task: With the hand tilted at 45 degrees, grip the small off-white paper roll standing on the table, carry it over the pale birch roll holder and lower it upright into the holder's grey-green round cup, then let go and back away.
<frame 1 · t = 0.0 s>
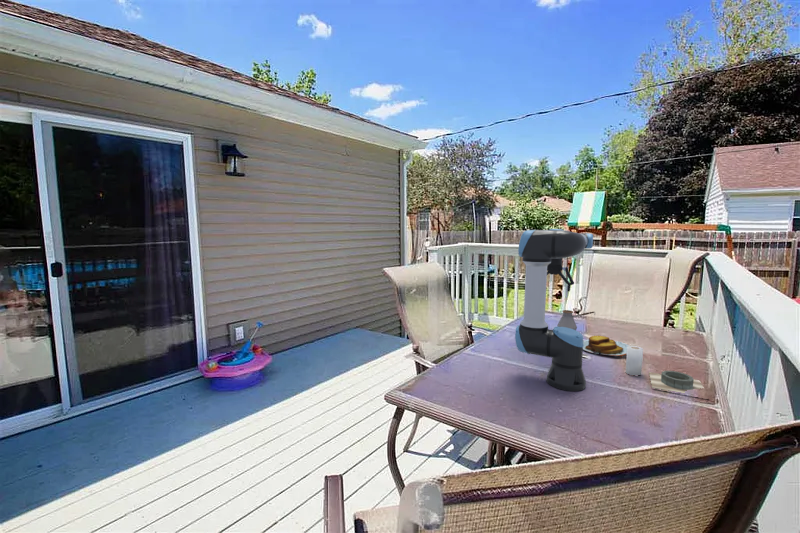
hand: (552, 296, 200), 28 cm above the table, tool pointing down, fingers open, 13 cm apart
paper roll: (633, 373, 164), on the table
food on plate: (604, 351, 195), on the table
coffee pot: (575, 332, 227), on the table
roll holder: (676, 386, 152), on the table
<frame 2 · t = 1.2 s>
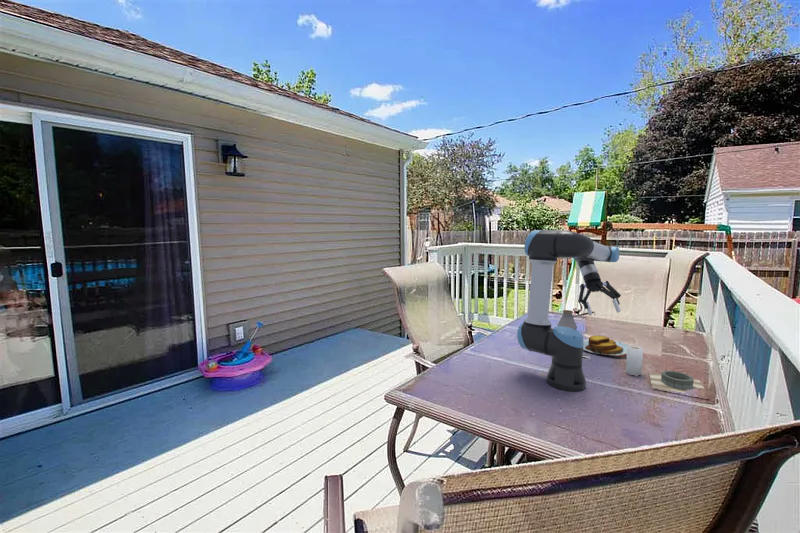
hand: (604, 313, 179), 24 cm above the table, tool tilted 35°, fingers open, 13 cm apart
nothing on the table moved.
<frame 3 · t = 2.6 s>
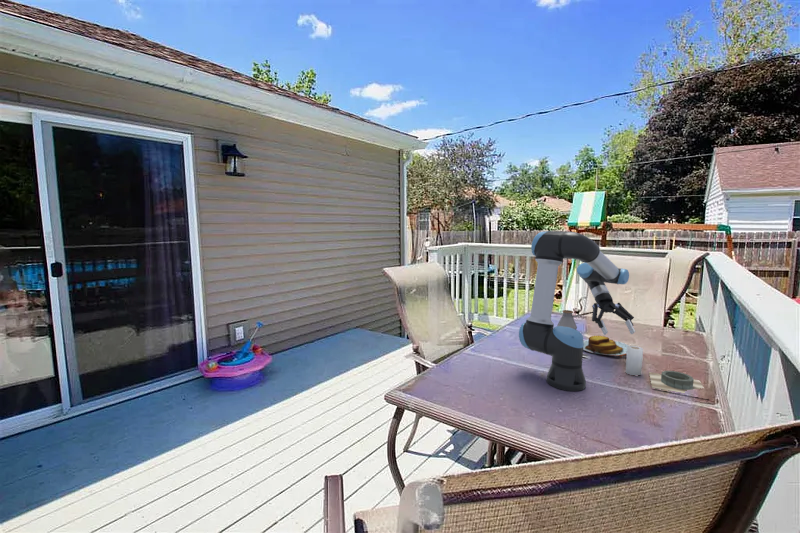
hand: (619, 333, 173), 16 cm above the table, tool tilted 45°, fingers open, 13 cm apart
nothing on the table moved.
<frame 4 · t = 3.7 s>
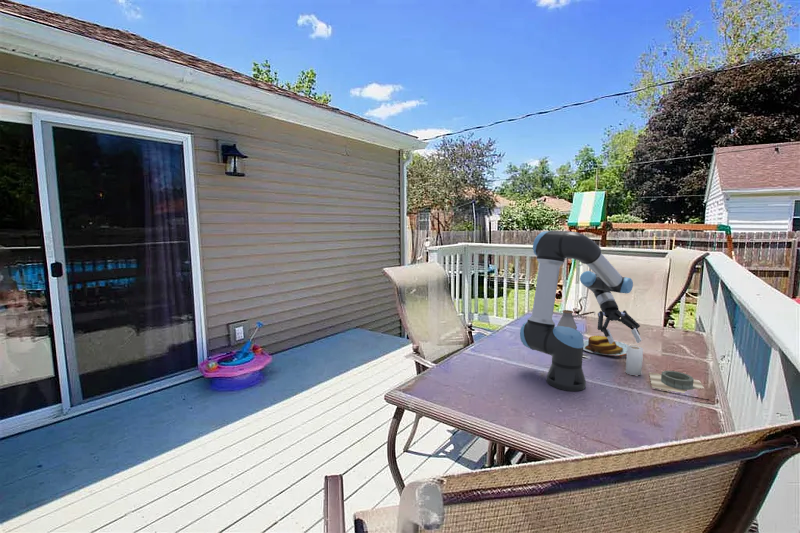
hand: (625, 342, 170), 12 cm above the table, tool tilted 45°, fingers open, 13 cm apart
nothing on the table moved.
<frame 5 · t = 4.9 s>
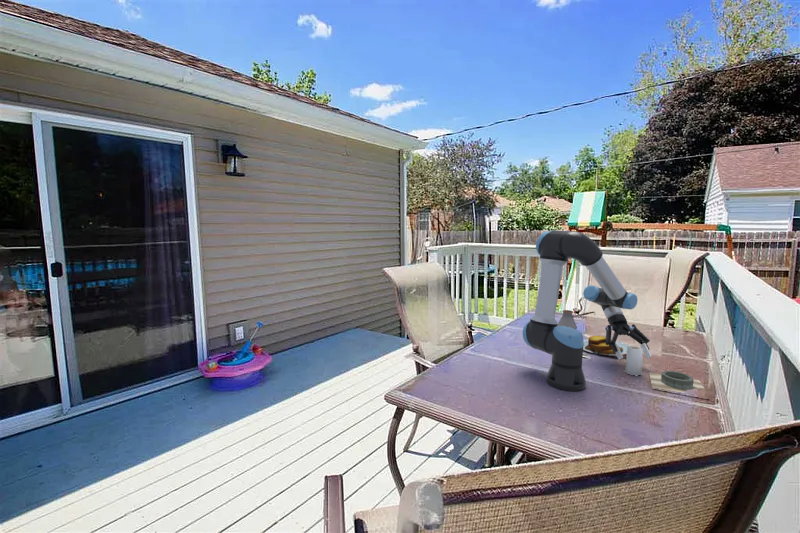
hand: (635, 358, 164), 7 cm above the table, tool tilted 45°, fingers open, 13 cm apart
nothing on the table moved.
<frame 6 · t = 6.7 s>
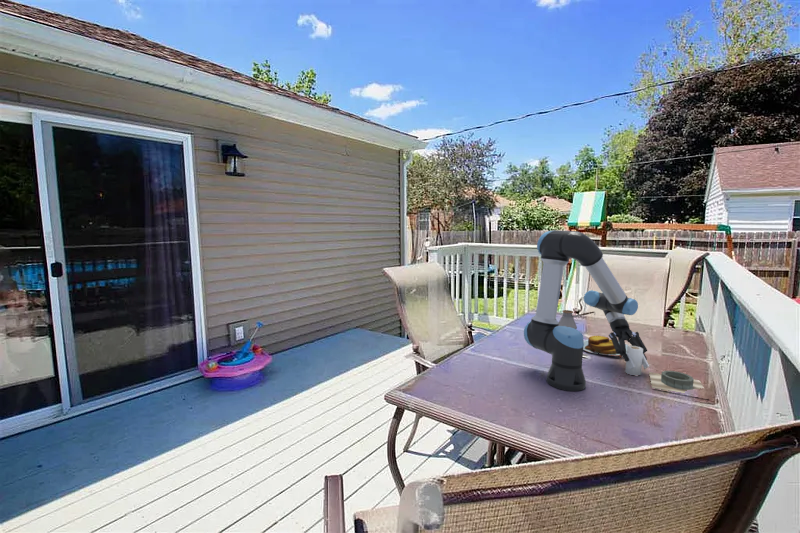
hand: (639, 367, 160), 4 cm above the table, tool tilted 45°, fingers closed on paper roll, 6 cm apart
paper roll: (633, 373, 164), on the table, touching gripper
everything else where it was.
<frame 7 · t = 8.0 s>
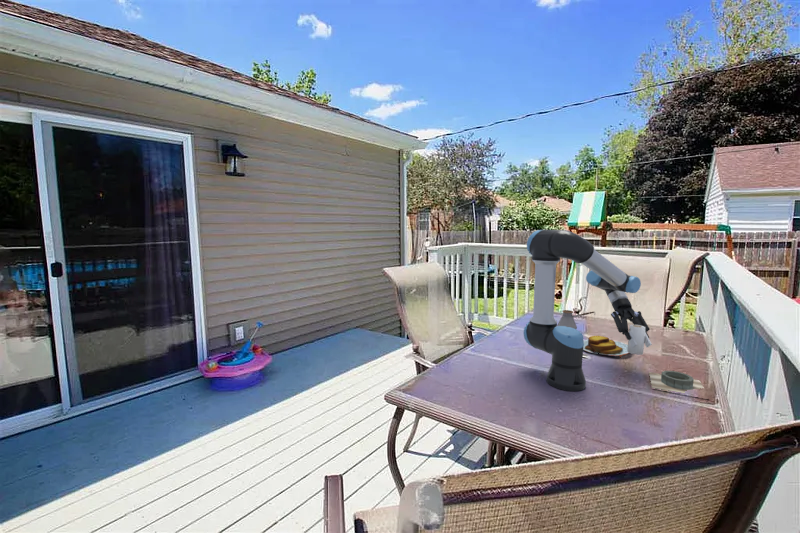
hand: (641, 345, 159), 14 cm above the table, tool tilted 45°, fingers closed on paper roll, 6 cm apart
paper roll: (635, 352, 163), point 10 cm above the table, touching gripper
everything else where it was.
when the fingers open (7 cm above the table, at t = 12.2 s): paper roll drops 1 cm, resting on roll holder.
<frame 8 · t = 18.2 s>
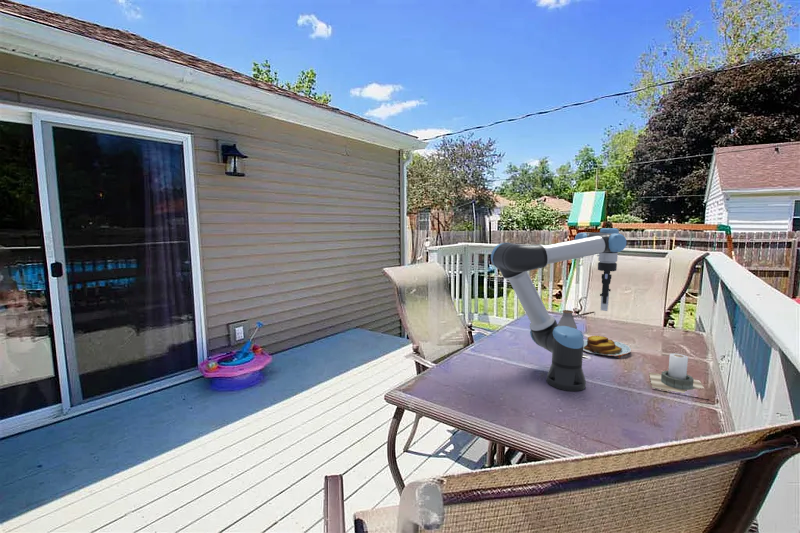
hand: (604, 307, 169), 29 cm above the table, tool pointing down, fingers open, 13 cm apart
paper roll: (676, 383, 152), point 1 cm above the table, touching roll holder
everything else where it was.
at the end: paper roll 0.1 cm off-centre on the roll holder, point 1.0 cm above the roll holder's base; paper roll tilted 0°; the gripper is holding nothing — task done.
